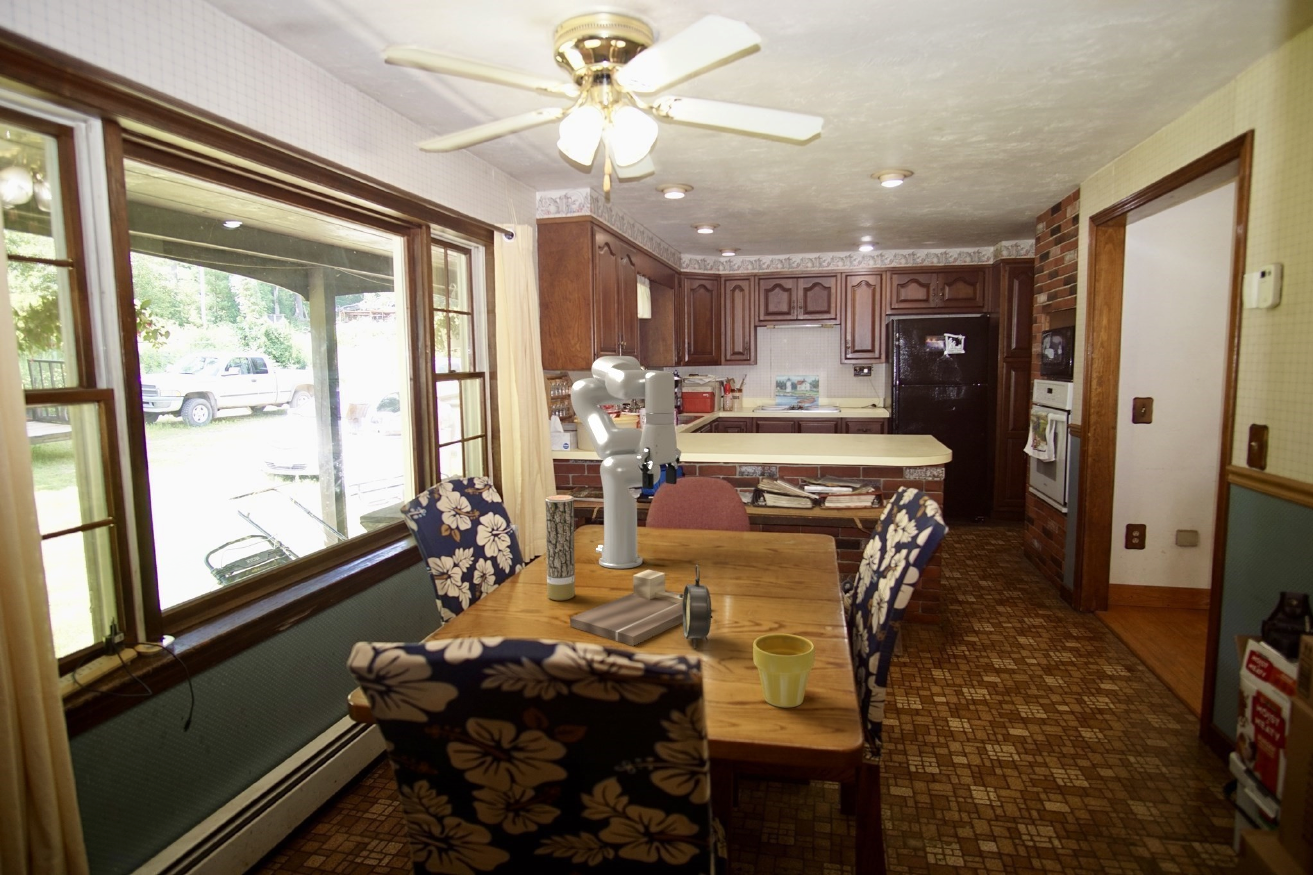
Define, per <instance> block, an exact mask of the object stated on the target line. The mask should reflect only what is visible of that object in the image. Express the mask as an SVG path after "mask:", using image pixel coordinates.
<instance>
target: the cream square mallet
mask: <svg viewBox="0 0 1313 875" xmlns="http://www.w3.org/2000/svg"><path fill="white" fill-rule="evenodd" d="M632 576H633V577H632V578H633V579H632V580H633V581H632V586H633V587H632V593H633V596H637V597H641V598H645V599H649V600H650V599H653V598H659V599H663V600H667V601H671V602H675V603H679V604H683V595H684V593H679V595H675V594H671V593H667V592H665V590H666V573H665V572H662V571H661V572H660V571H657V570H651V569H647V570H644V571H641V572H638V573H636V574H633V575H632Z"/></svg>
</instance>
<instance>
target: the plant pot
mask: <svg viewBox="0 0 1313 875" xmlns="http://www.w3.org/2000/svg"><path fill="white" fill-rule="evenodd" d="M752 647H753V648H752V650H753V651H752V656H753V657H752V658H753V663H754V665H755V666H756V668H757V670H758V675H759V680H760V685H761V689H762V695H763V699H764V700H765V702H766V703H767V704H769V705H771V706H773V707H778V708H789V709H790V708H794V707H799V706H800V705H802V703H803V702H804V698H805V693H806V688H807V684H808V680H809V677H810V676H809V675H810V671H811V670H812V669H813V668H814V667H815V658H816V657H815V655H816V651H815V650H816V648H815V645H814V643H813V642H812V641H811V640H809V639H808V638H805V637H803V636H800V635H796V634H790V633H789V634H787V633H771V634H769V633H768V634H764V635H761V636H759V637H757V638H756V639H754V641H753V644H752Z"/></svg>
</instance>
